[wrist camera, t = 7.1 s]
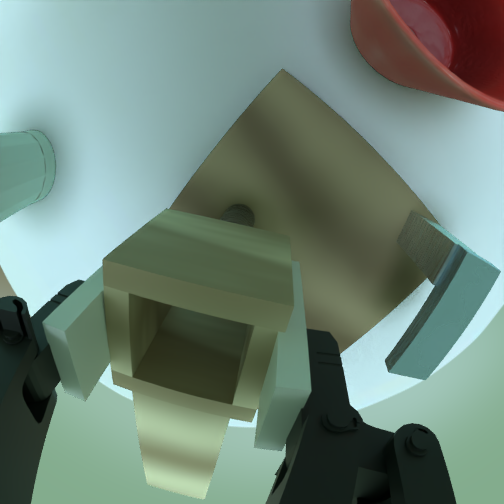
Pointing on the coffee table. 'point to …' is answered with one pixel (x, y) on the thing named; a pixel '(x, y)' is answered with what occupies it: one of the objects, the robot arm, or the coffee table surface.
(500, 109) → the flower pot
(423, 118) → the coffee table surface
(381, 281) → the board
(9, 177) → the cup
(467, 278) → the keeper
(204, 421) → the link
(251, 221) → the pin
